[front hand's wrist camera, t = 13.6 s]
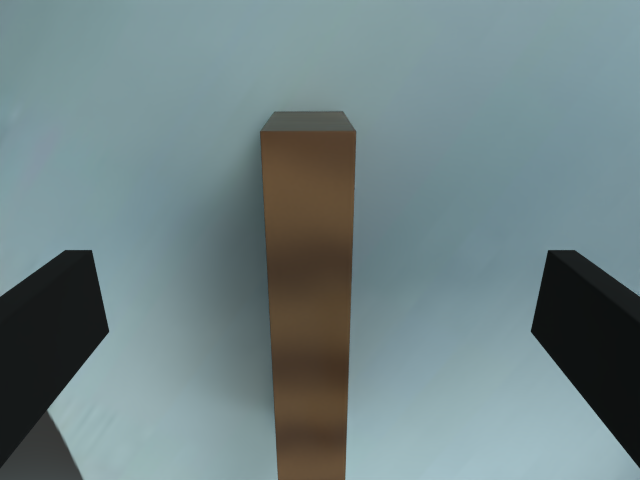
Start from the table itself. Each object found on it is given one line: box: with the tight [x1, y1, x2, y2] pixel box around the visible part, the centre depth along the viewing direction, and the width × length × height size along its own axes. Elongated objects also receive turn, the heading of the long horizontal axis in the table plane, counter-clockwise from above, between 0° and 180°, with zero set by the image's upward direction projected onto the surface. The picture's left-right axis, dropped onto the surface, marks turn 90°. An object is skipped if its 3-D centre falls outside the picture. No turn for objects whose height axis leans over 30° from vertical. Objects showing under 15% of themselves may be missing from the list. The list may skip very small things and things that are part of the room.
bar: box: [260, 111, 356, 480], centre depth 29 cm, size 26×4×9 cm, turn 0°
